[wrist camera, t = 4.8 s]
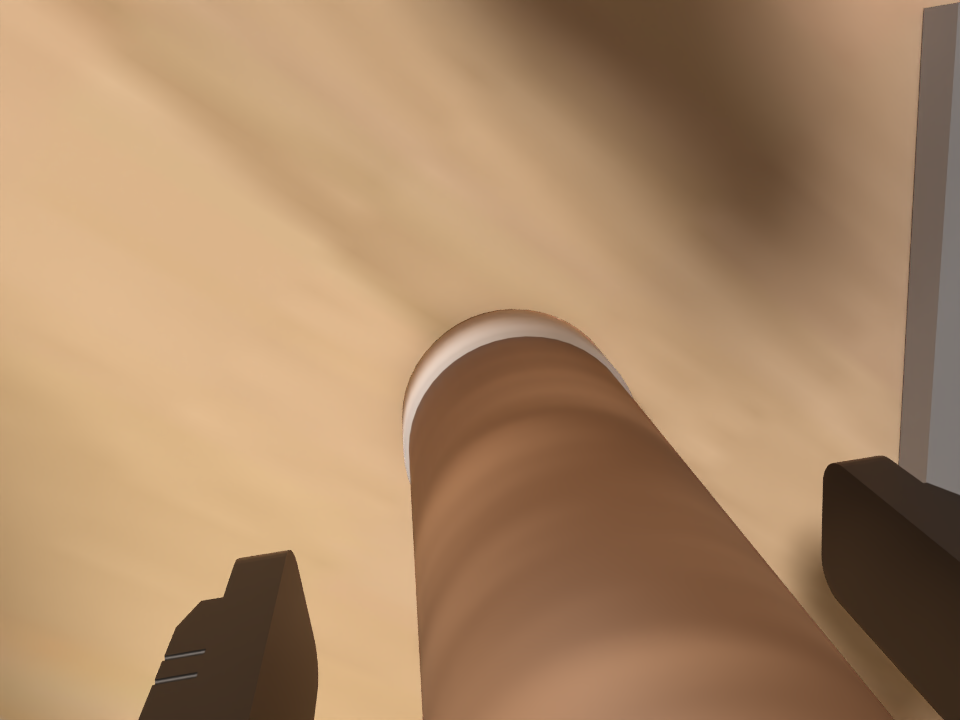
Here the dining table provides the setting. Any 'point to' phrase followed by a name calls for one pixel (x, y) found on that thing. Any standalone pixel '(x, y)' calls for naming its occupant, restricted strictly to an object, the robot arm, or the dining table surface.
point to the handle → (587, 552)
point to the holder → (935, 265)
